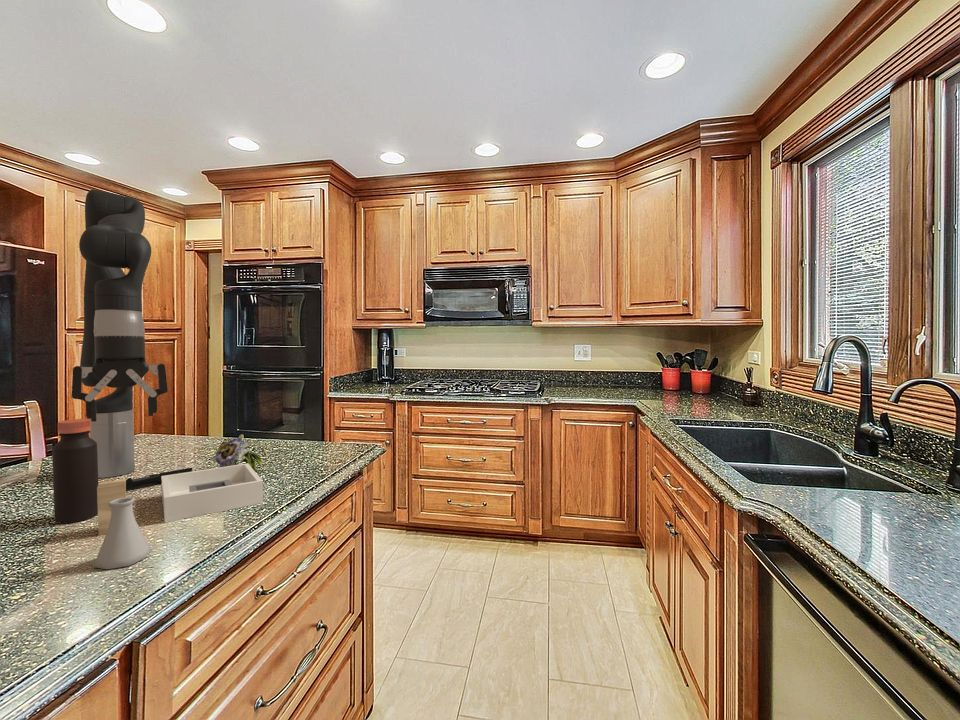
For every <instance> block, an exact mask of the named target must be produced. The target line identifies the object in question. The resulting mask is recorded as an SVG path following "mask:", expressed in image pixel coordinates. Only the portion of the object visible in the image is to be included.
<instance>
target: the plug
mask: <svg viewBox="0 0 960 720" xmlns="http://www.w3.org/2000/svg"><path fill="white" fill-rule="evenodd" d="M126 480H127V479H126V478H122V479H115V480H109V481H103V482H98V487H97V502H98V514H97V526H98V527H97V528H98V529H97V531H98V537H101V535H102V536H106V533H107V530H108V528H109V524H110V519H111V507H109V505H108V504H109V503H110V502H111V501H112V500H115V499H118V498H126V497H127V492H126Z"/></svg>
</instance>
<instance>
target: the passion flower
mask: <svg viewBox="0 0 960 720" xmlns="http://www.w3.org/2000/svg"><path fill="white" fill-rule="evenodd" d="M244 437H245V436H244V434H240V435H239V436H238V437H237V438H236V437H234V438H233V439H230V440H226V441H222V442H221V443H220V445H218V449H217V450H216V452H215V455H214V456H213V457H211V458H210V461H211V462H216V463H217V465H219V466H218V468H219V467H226V466H233V465H237V463H238V462H244V463H245V464H246V463H248V464H249V465H250V466H251V467H252V469H253V470H254V471H255V472H256V470H257V469H256V467H257V464H258V466H259V468H261V467H262V465H263V461H262V459H261V457H260V456H259V455H258V454H256V453H255V452H258V451H260V450H262V452H263V453H264V455H267V451H266V449H265V446H263V447H261V448H259V449H255V450H254V451H250V449H249V447H250V446H252V444H253V440H249V441H245V442H243V441H244V439H245V438H244ZM256 462H257V463H256Z"/></svg>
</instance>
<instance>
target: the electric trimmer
mask: <svg viewBox="0 0 960 720" xmlns="http://www.w3.org/2000/svg"><path fill="white" fill-rule="evenodd" d="M192 471H193V467H186V468H181V469H176V470H170V471H165V472H160V473H156V474H149V475H148V476H141V477H138V478H132V477H128V478H127V479H126V493H127V492H128V490H129V491H133V490H136V489H141V487H142V488H145V486H146V487H150V486H153V485H159V484H160V485H162V484H161V483H162V482H161V476H165V475H172V474H179V473H186V472H192Z"/></svg>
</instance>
